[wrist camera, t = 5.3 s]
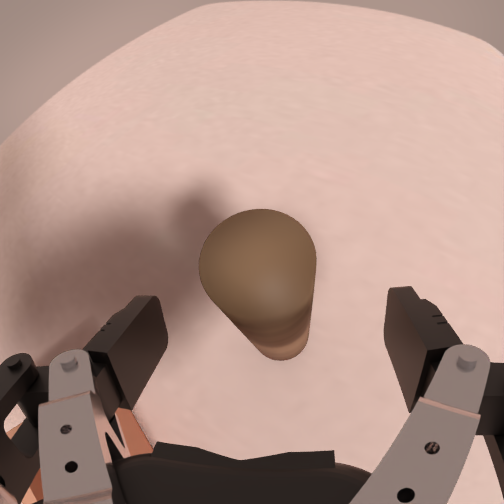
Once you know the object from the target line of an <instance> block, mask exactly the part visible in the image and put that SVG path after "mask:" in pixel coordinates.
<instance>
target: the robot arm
mask: <svg viewBox="0 0 504 504" xmlns="http://www.w3.org/2000/svg"><path fill="white" fill-rule="evenodd" d="M384 341H385V345H386V348H387V351H388V354H389V356H390V359H391V362H392V364H393V367H394V370H395V373H396V376H397V378H398V381H399V384H400V387H401V390H402V393H403V396H404V399H405V402H406V405H407V408H408V411H409V413H411V414H410V416H409V418H408V419H407V421H406V423H405V424H404V426H403V428H402V429H401V431H400V433H399V434H398V436H397V437H396V439H395V441H394V442H393V444H392V445H391V447H390V448H389V450H388V451H387V453H386V454H385V456H384V457H383V459H382V460H381V462H380V463H379V465H378V466H377V468H376V469H375V470H374V472H373V473H372V474H371V473H369V472H367V471H365V470H363V469H360V468H357V467H354V466H350V465H346V464H341V463H335V456H334V450H332V451H315V452H287V453H282V454H277V455H271V456H266V457H260V458H254V459H247V460H236V459H232V458H229V457H225V456H222V455H219V454H215V453H212V452H209V451H206V450H203V449H200V448H197V447H190V446H183V445H176V444H169V443H163V442H157V443H156V445H155V447H154V450H153V452H152V453H145V454H138V455H134V456H131V455H130V452H129V449H128V447H127V444H126V441H125V438H124V435H123V431H122V428H121V425H120V422H119V419H118V416H117V415H116V413H115V412H116V410H117V409H118V408H122V409H128V410H132V409H133V407H134V406H135V404H136V402H137V400H138V398H139V397H140V395H141V393H142V391H143V389H144V388H145V386H146V384H147V382H148V380H149V379H150V377H151V375H152V373H153V372H154V370H155V368H156V366H157V364H158V363H159V361H160V359H161V357H162V356H163V354H164V352H165V350H166V348H167V345H168V333H167V329H166V325H165V321H164V317H163V313H162V309H161V305H160V301H159V299H158V298H157V297H156V296H136V297H134V299H133V300H132V301H131V302H130V303H129V304H128V305H127V306H126V307H125V308H124V309H123V310H121V311H119V312H118V313H116V314H115V315H113V316H112V317H111V318H110V319H109V321H108V322H107V323H106V325H104V326H103V327H102V328H101V331H99V332H98V333H97V334H96V335H95V336H94V337H93V338H92V339H91V340H90V342H89V343H88V344H87V345H86V346H85V347H84V348H83V350H80V349H73V350H68V351H65V352H63V353H61V354H59V355H58V356H56V357H55V358H54V359H53V360H52V361H51V363H50V365H49V366H42V367H36V366H35V364H34V362H33V360H32V358H31V356H30V355H29V354H26V353H20V354H16V355H13V356H11V357H9V358H8V359H6V360H5V361H4V362H3V363H2V364H1V365H0V504H21V502H22V500H23V498H24V496H25V494H26V492H27V490H28V489H29V487H30V485H31V483H32V481H33V480H34V478H35V476H36V474H37V472H38V471H39V469H40V470H41V480H42V489H43V497H44V498H43V499H41V500H39V501H37V502H35V503H32V504H447V502H448V500H449V498H450V496H451V494H452V492H453V489H454V487H455V485H456V483H457V480H458V478H459V476H460V473H461V471H462V469H463V466H464V464H465V461H466V459H467V456H468V453H469V451H470V448H471V445H472V442H473V439H474V437H475V435H483V436H484V439H485V442H486V444H487V447H488V450H489V453H490V456H491V459H492V462H493V465H494V468H495V471H496V474H497V477H498V481H499V484H500V487H501V491H502V495H503V498H504V363H492V362H490V359H489V357H488V356H487V354H486V353H485V352H484V351H482V350H481V349H479V348H477V347H475V346H472V345H465V344H463V343H462V342H461V340H460V339H459V337H458V336H457V334H456V333H455V331H454V330H453V329H452V327H451V326H450V324H449V323H447V320H446V319H445V317H444V316H442V313H441V312H440V310H439V309H438V308H437V306H436V305H434V304H433V303H431V302H429V301H428V300H426V299H420V298H419V296H418V295H417V294H416V292H415V291H414V289H413V288H412V287H411V286H406V287H393V288H390V289H389V291H388V296H387V306H386V315H385V323H384ZM16 404H18V405H19V407H20V408H21V410H22V412H23V413H24V415H25V416H26V419H25V420H24V421H23V423H22V424H21V426H20V427H19V428H18V430H17V431H16V433H15V434H14V436H13V437H12V439H10V438H9V437H8V436H7V434H6V433H5V430H4V421H5V418H6V417H7V416H8V414H9V413H10V412H11V410H12V409H13V408H14V407H15V405H16Z"/></svg>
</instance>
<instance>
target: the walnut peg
mask: <svg viewBox="0 0 504 504" xmlns="http://www.w3.org/2000/svg"><path fill="white" fill-rule="evenodd" d="M315 273H316V251H315V247H314V244H313V241H312V239H311V237H310V235H309V234H308V232H307V231H306V229H305V228H304V227H303V226H302V225H301V224H300V223H299V222H298V221H296V220H295V219H294V218H292V217H290V216H288V215H286V214H284V213H281V212H278V211H275V210H269V209H253V210H247V211H243V212H240V213H237V214H235V215H233V216H231V217H229V218H227V219H226V220H224V221H223V222H222V223H220V224H219V225H218V226H217V227H216V228H215V229H214V230H213V231H212V232H211V234H210V235H209V236H208V238H207V239H206V241H205V243H204V245H203V248H202V251H201V254H200V259H199V274H200V279H201V282H202V285H203V287H204V289H205V291H206V293H207V294H208V296H209V297H210V298H211V300H212V301H213V302H214V303H215V304H216V305H217V306H218V307H219V308H220V309H221V311H222V312H223V313H224V314H225V315H226V316H227V317H228V318H229V319H230V320H231V321H232V322H233V324H234V325H235V326H236V327H237V328H238V329H239V330H240V331H241V332H242V333H243V334H244V335H245V336H246V337H247V338H248V339H249V340H250V342H251V343H252V344H253V345H254V346H255V347H256V348H257V349H258V350H259V351H260V352H261V353H262V354H263V355H265V356H266V357H268V358H270V359H273V360H279V361H282V360H288V359H291V358H293V357H295V356H297V355H298V354H299V353H300V352H301V351H302V350H303V349H304V347H305V346H306V344H307V341H308V336H309V328H310V320H311V311H312V302H313V293H314V283H315Z"/></svg>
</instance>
